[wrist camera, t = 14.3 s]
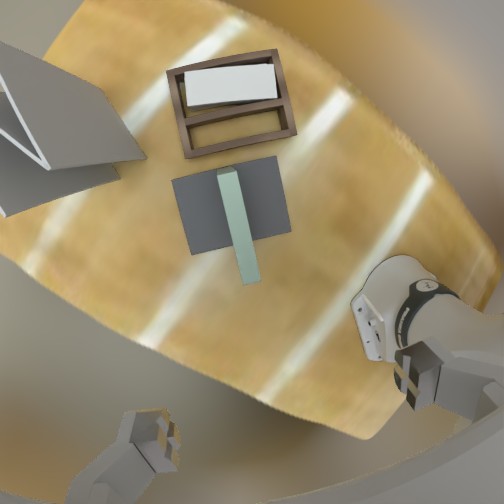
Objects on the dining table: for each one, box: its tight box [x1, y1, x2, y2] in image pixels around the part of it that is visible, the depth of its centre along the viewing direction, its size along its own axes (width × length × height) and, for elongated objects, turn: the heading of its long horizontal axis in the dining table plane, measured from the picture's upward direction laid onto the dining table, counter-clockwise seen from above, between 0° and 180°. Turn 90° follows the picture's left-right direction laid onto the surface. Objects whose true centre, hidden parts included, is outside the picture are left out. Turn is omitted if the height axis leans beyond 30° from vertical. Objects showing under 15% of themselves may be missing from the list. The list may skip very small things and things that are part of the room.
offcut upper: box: [184, 64, 277, 109], centre depth 40 cm, size 5×12×3 cm, turn 96°
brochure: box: [0, 42, 147, 218], centre depth 30 cm, size 14×6×30 cm, turn 33°
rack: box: [166, 49, 297, 159], centre depth 42 cm, size 13×16×5 cm
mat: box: [172, 156, 291, 255], centre depth 49 cm, size 12×16×1 cm
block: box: [217, 166, 261, 285], centre depth 41 cm, size 2×12×16 cm, turn 12°
